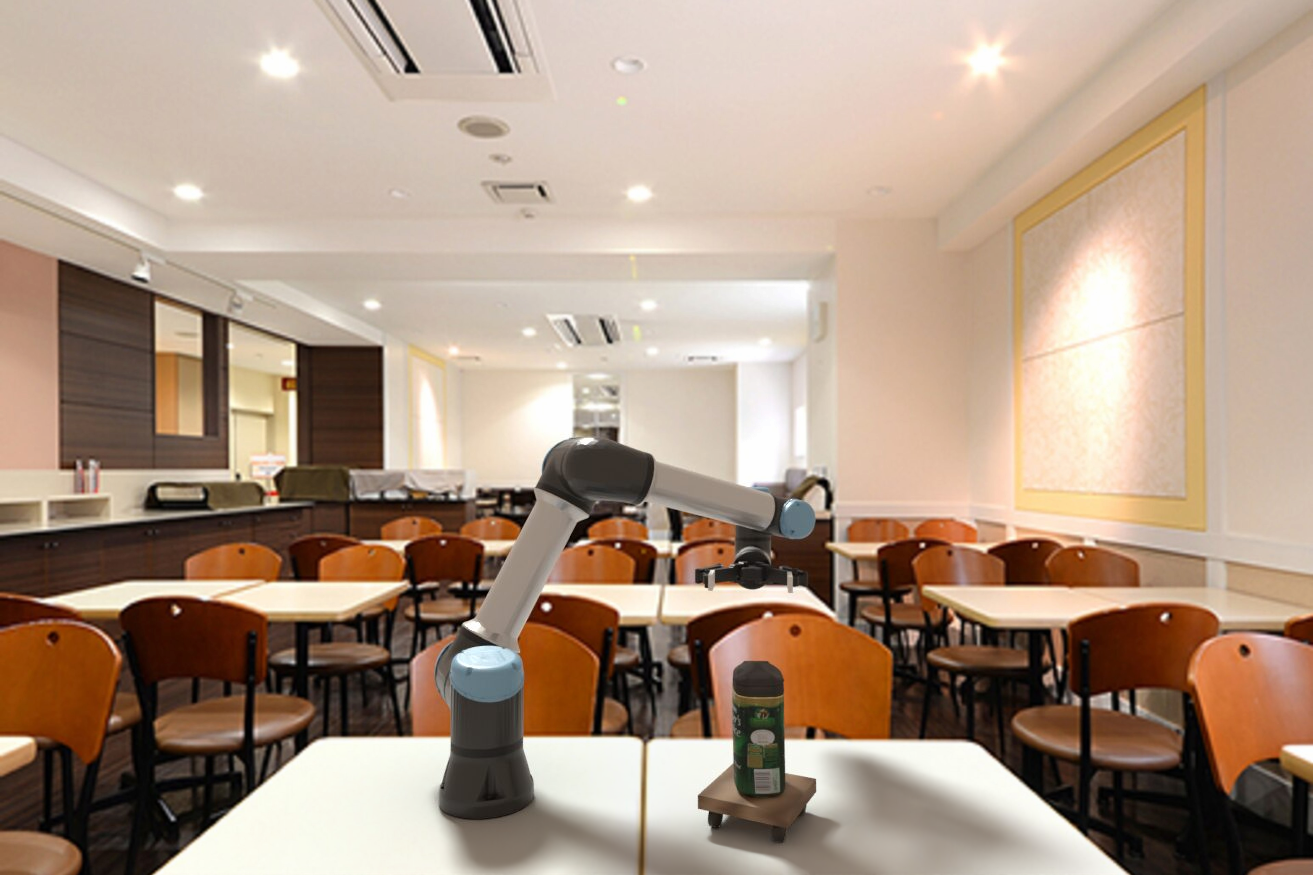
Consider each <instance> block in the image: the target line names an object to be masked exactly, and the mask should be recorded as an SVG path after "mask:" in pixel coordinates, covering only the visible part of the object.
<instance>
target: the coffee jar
mask: <svg viewBox="0 0 1313 875" xmlns="http://www.w3.org/2000/svg"><path fill="white" fill-rule="evenodd" d="M784 682H785V678H784V676H783V673H782V672H781V670H780V669H779V668H778V667H777V666H775V664H772V663H770V662H769V661H768V660H744V661H743V662H742V663H740V664H738V665H737V666H735V667H734V669H733V671H732V687H731V688H732V698H731V699H732V702H731V707H732V708H731V710H732V711H731V712H732V713H731V714H732V718H731V719H732V745H733V746H732V756H733V758H732V759H733V762H732V764H733V767H734V783H735V785H736V788H737V790H738V791H739V792H740V793H742V794H746V795H750V796H754V797H770V796H774V795H778V794H782V793H783V792H784V790H785V773H786V757H785V756H786V752H785V751H786V750H785V749H786V746H785V744H786V743H785V737H786V736H785V735H786V733H785V684H784Z"/></svg>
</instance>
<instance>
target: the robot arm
mask: <svg viewBox="0 0 1313 875" xmlns="http://www.w3.org/2000/svg"><path fill="white" fill-rule="evenodd" d="M533 493H534V495H535V498H536V502H535V504H534V505H533V507H532V510H531V512H530V513H529V515H528V517H527V519H526V521H525V523H524V524H523V526H522V527H521V528H522V529H521V530H520V532H519V533H518V536H517V538H516V540H515V542H514V544H513V545H512V547H511V548H510V550H509V553H508V555H507V556H506V559H505V561H504V563H503V564H502V566H501V568H500V569H499V572H498V574H497V576H496V578H495V579H494V582H493V584H491V587H490V588H489V591H488V593H486V594H487V595H486V597H485V598H484V600H483V602H482V604H481V606H480V608H479V610H478V612H477V614H476V615H475V617H474V618H472V619H470V620H468V621H464V622H462V624H461V625H460V628H459V630H458V631H457V633H456V635H455V637H454V638H453V640H452V641H450V642H449V643H447V645H445V646H444V647H443V649H441V651H440V653H439V655H438V656H437V658H436V660H435V664H434V675H433V676H434V683H435V686H436V689H437V693H438V694H439V695H440V697H441V699H443V700H444V702H445V704H446V705H447V707H448V708H449V711H450V712H449V713H450V754H449V756H448V761H447V764H446V766H445V769H444V774H443V777H442V781H441V784H440V786H439V790H438V806H439V807H440V809H441V810H442V811H443V812H444V813H446V814H447V815H450V816H453V817H457V818H461V819H463V818H464V819H473V820H474V819H475V820H476V819H492V818H497V817H502V816H507V815H509V814H513V813H515V812H517V811H520V810H522V809H524V808H525V807H527V806H528V805H529V804H530V803H531V802H532V801H533V800H534V796H535V781H534V778H533V776H532V774H531V770H530V767H529V763H528V758H527V757H526V753H525V750H524V682H525V670H524V664H523V660H522V657H521V656H520V653H521V650H520V647H519V643H518V638H519V636H520V634H521V632H522V630H523V628H524V626H525V625H526V622H527V620H528V619H529V617H530V616H531V613H532V611H533V609H534V607H535V606H536V603H537V601H538V599H539V597H540V595H541V593H542V591H543V589H544V588H545V586H546V584H547V582H548V579H549V577H550V576H551V574H552V572H553V570H554V568H555V566H556V564H557V562H558V560H559V559H560V557H561V555H562V552H563V550H565V549H564V548H565V546H566V545H567V543H568V541H569V539H570V536H571V534H572V533H573V531H574V529H575V527H576V525H577V523H579V522H581V521H583V520H586V519H588V518H589V517H590V515H591V514H592V511H593V509H594V507H595V505H597V502H598V501H608V502H619V503H626V504H631V505H634V506H635V505H636V506H641V505H642V504H644V503H645V502H646V503H649V504H653V505H657V506H661V507H663V508H668V509H673V510H677V511H679V512H685V513H689V514H692V515H696V516H701V517H704V518H708V519H712V520H717V521H719V522H723V523H728V524H730V525H731V524H732V525H734V531H735V532H734V533H735V535H734V560H733V563H730V564H729V566H727V567H724V566H725V565H724V564H722V563H716V564H714V565H709V566H705V567H701V568H695V569H694V583H695V584H698V585H700V584H704V588H705V589H707V591H708V592H709V591H710V592H713V591H714V588H715V585H716V584H720V583H726V582H729V583H731V584H738V585H739V586H740V587H741V588H744V589H746V590H750V591H751V590H758V589H761V588H763V587H764V586H766V585H769V584H771V585H772V584H774V583H775V584H779V585H783V586H786V589H787V593H789V594H793V593H794V589H793V588H795V587H799V586H801V587H804V588H805V587H809V572H808V571H805V570H801V569H799V567H794V568H793V567H790V566H788V565H786V564H783V565H781V566H779V568H776V567H775V566H774V565H772V550H771V549H772V536H776V537H781V538H786V539H789V540H801V539H804V538H807V537H808V536H809V535H811V533H812V532H813V531H814V528H815V525H816V519H817V518H816V513H815V509H813V506H812V505H811V504H810V503H809V502H807V501H805V500H800V499H798V498H789V497H784V496H780V495H777V494H773V493H772V491H771V489H770V488H769V487H765V486H745V485H741V484H738V483H734V482H731V481H727V480H724V479H720V478H716V477H713V476H710V475H705V474H703V473H698V472H696V471H693V470H688V469H685V468H681V467H679V466H674V465H670V464H667V463H663V462H660V461H657V460H656V458H655V456H654V454H652V453H648V452H647V451H646V452H645V451H642V450H640V449H636V448H633V447H632V446H628V445H626V444H623V443H619V442H617V441H615V440H612V439H609V438H608V437H607V438H606V437H602V436H596V435H595V436H593V435H592V436H586V437H581V436H576V437H575V436H574V437H573V436H572V437H568V438H566V439H562V440H561V441H559V442H557V443H556V444H554V445H553V446H551V447H550V449H549V450H548V451H547V453H545V456H544V457H543V460H542V465H541V475H540V477H539V479H538V480H537V483H536V485H535V487H534V489H533Z"/></svg>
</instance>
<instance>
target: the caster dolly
mask: <svg viewBox="0 0 1313 875" xmlns="http://www.w3.org/2000/svg"><path fill="white" fill-rule="evenodd" d="M815 794H817V778H815V777H809V776H804V775H797V774H793V773H787V772H785V790H784V792H783V793H782V794H778V795H774V796H770V797H754V796H750V795H746V794H742V793H740V792H739V791H738V790H737V788H736V785H735V783H734V767H733V763H732V764H731V765H729V766H728V767H727V768H726V769H725V770H724V771H723V772H721V774H720V775H718V776H717V777H716V778H715V779H714V780H713V781H712V782H710V783H709V784H708V785H707V786H706V787H705V788H704V789H703V790H702V791H700V792H699V794H697V809H698V810H702V811H707V812H708V813H707V814H708V815H707V823H708V826H709V827H711V828H715V829H719V828H720V827H722V826H721V825H722V823H723V821H724V820H723V819H724V815H725V816H730V817H735V818H738V819H743V820H748V821H751V822H757V823H762V824H766V825H771V826H772V827H771V828H772V829H771V839H772V841H773V842H777V843H784V842H785V839H786V836H787V829H789V828H790V827H791V825H792V824H793V823H794V821H795V820H796V819H797V818H798V816H799V815H800V816H804V815H805V813H806V810H807V805H808V803H809V802H810V801H811V800H812V798H813V797H814V796H815ZM719 826H720V827H719Z"/></svg>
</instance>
